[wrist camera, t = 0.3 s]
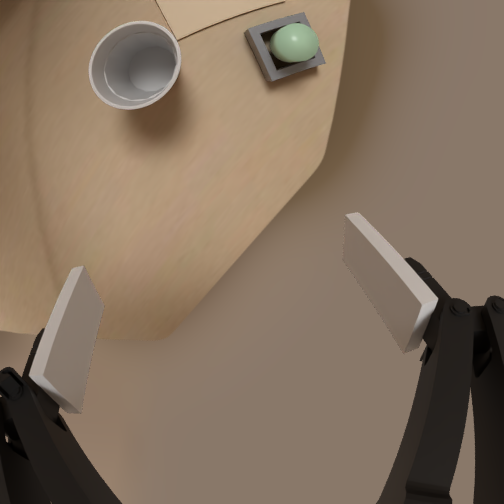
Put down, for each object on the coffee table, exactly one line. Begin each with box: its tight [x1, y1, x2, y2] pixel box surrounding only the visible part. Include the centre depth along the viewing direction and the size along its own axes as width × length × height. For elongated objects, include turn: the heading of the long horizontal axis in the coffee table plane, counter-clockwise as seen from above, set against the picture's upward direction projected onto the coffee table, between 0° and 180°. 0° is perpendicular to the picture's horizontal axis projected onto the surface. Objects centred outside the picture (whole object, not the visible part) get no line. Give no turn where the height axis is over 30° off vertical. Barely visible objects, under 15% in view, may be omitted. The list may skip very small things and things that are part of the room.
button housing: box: [244, 12, 325, 81], centre depth 29 cm, size 7×7×3 cm
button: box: [270, 23, 319, 63], centre depth 26 cm, size 4×4×4 cm
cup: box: [89, 21, 181, 110], centre depth 24 cm, size 8×8×12 cm
